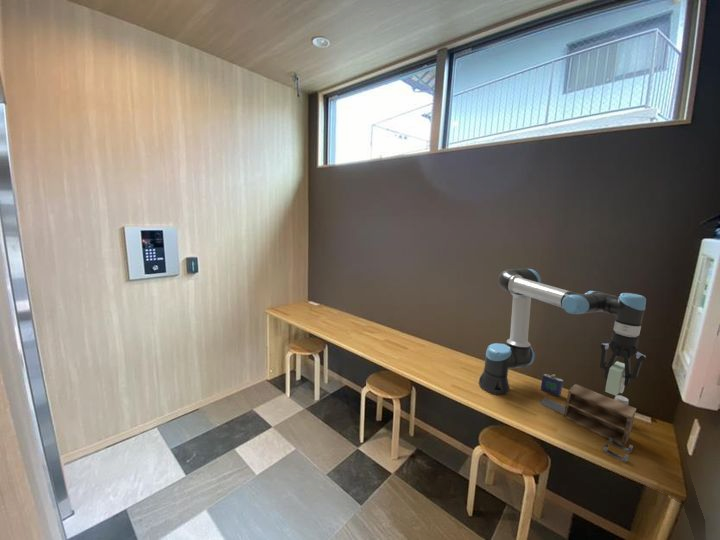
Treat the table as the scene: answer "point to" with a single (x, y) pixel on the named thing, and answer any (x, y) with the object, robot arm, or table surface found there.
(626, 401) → the beverage can
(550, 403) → the smartphone
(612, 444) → the hinge clips
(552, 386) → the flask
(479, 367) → the table surface
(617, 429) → the cabinet
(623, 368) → the pale green square block
